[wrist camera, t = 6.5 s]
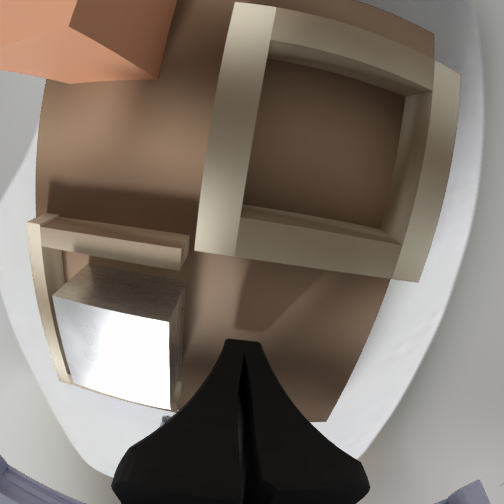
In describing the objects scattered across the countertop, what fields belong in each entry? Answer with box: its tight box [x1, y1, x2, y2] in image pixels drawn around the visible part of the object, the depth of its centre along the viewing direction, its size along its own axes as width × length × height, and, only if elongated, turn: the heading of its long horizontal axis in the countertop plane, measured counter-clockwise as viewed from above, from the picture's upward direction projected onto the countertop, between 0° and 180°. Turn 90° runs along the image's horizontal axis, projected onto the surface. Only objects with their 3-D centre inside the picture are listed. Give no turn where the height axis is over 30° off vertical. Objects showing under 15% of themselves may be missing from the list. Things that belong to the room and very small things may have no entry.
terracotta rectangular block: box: [0, 0, 177, 84], centre depth 5 cm, size 4×4×6 cm
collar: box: [194, 2, 461, 282], centre depth 9 cm, size 8×8×2 cm
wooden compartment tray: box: [27, 0, 434, 422], centre depth 11 cm, size 21×16×4 cm
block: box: [52, 263, 186, 409], centre depth 11 cm, size 4×4×3 cm
